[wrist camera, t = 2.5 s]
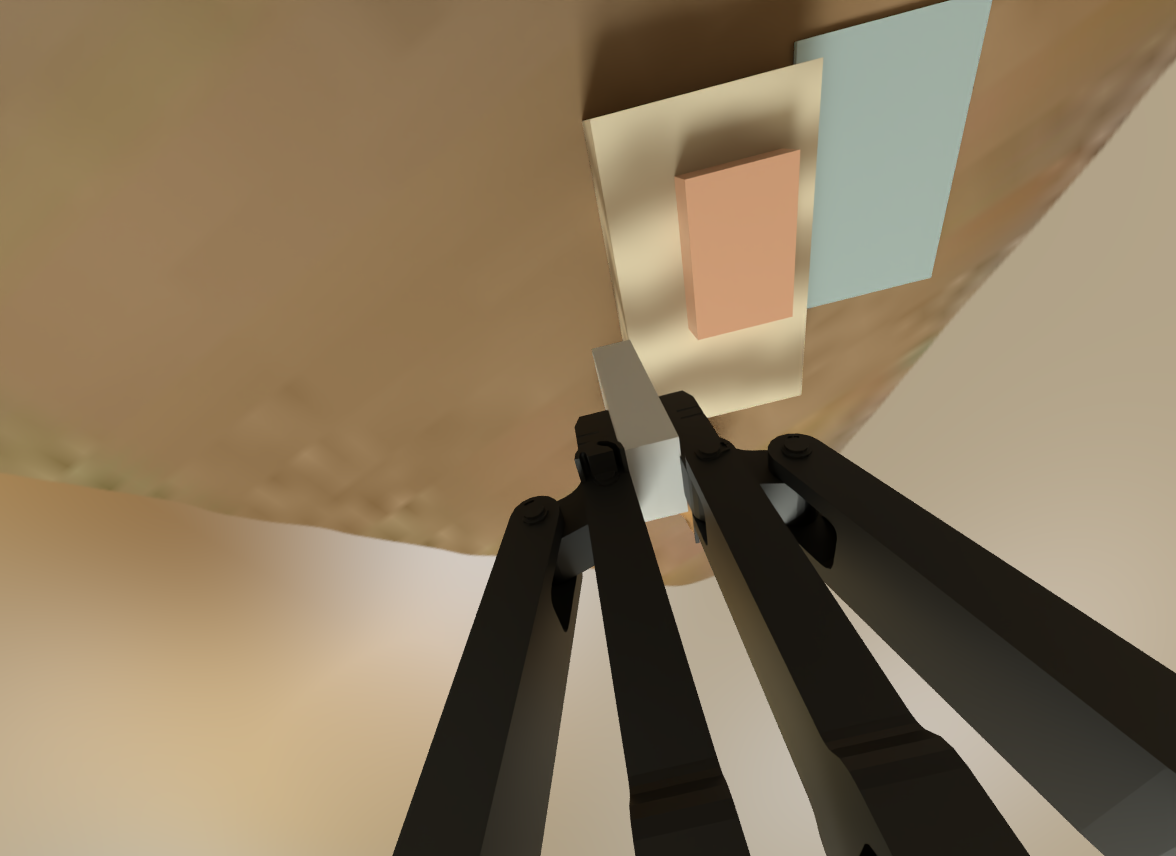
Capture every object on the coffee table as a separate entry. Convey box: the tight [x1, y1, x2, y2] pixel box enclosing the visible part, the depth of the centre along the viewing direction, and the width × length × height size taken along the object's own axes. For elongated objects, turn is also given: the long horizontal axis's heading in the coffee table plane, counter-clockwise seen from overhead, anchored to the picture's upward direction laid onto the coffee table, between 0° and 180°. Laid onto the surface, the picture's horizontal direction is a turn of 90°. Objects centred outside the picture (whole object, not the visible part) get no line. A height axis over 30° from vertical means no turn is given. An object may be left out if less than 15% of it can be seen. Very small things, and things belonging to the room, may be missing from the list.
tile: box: [674, 148, 800, 340], centre depth 26 cm, size 9×6×2 cm, turn 12°
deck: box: [582, 57, 823, 418], centre depth 30 cm, size 20×12×4 cm, turn 12°
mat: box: [794, 0, 992, 308], centre depth 29 cm, size 16×11×1 cm
